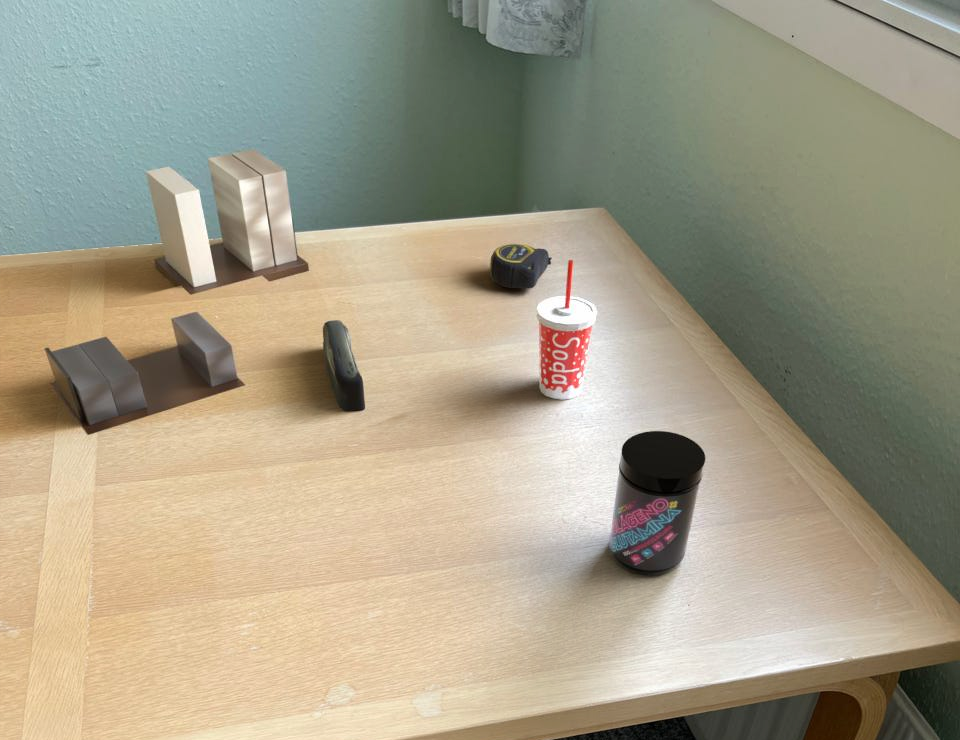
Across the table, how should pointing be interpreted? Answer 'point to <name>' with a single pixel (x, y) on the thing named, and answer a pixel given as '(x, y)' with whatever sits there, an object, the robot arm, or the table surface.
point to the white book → (181, 225)
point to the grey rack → (142, 375)
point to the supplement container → (655, 501)
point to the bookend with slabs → (248, 223)
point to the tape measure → (518, 265)
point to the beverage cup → (564, 342)
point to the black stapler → (342, 367)
